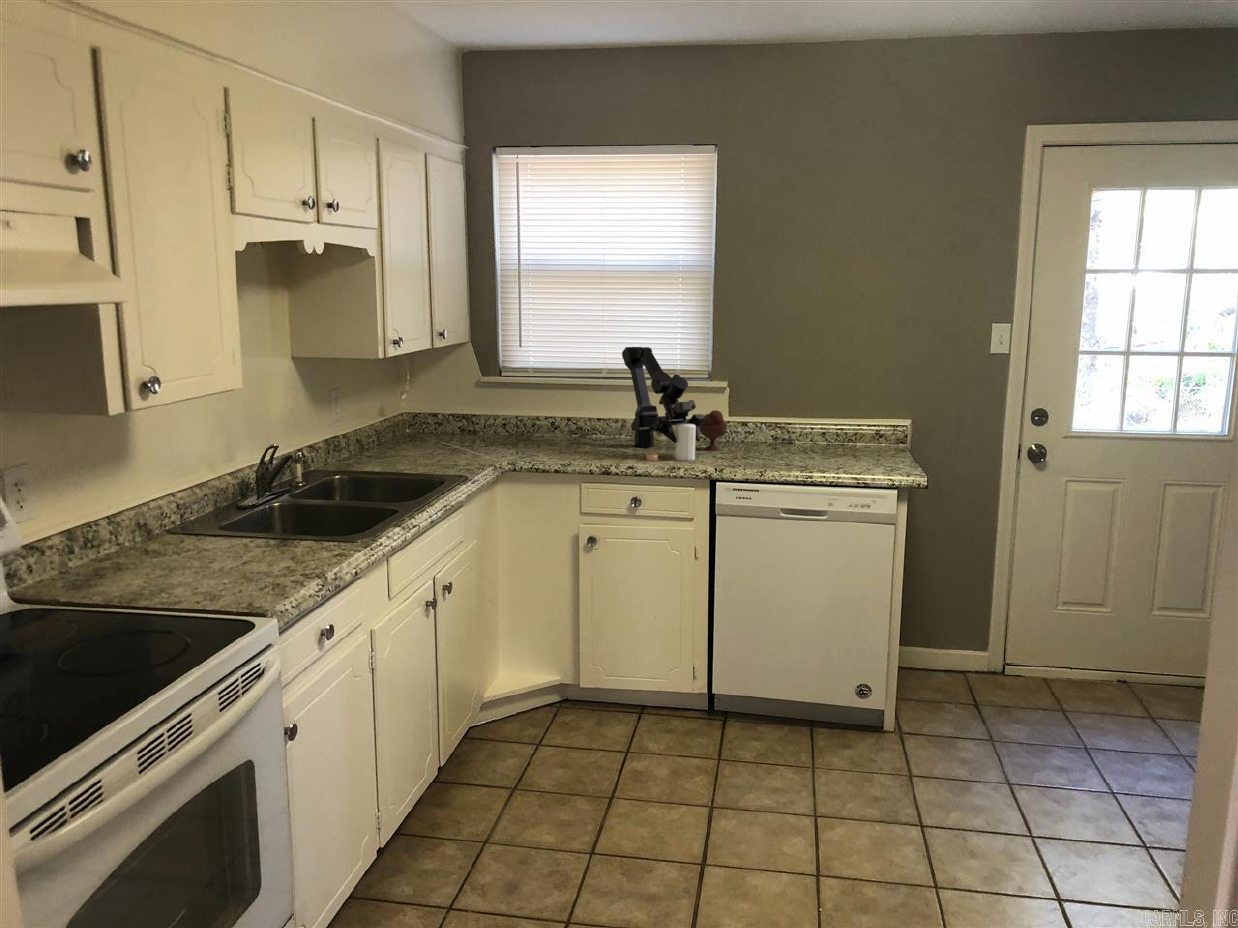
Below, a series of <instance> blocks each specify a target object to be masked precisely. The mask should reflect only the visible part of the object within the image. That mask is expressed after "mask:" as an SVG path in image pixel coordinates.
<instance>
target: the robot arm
mask: <svg viewBox="0 0 1238 928" xmlns="http://www.w3.org/2000/svg"><path fill="white" fill-rule="evenodd" d="M621 357H622V360H623V362H624V365H625V366H626V368H628V370H629V371H630V374H631V379H632V384H633V390H634V394H635V400H636V405H637V407H636V410H635V412H634V419H633V420H632V423H631V425H630V427H631V431H634V444H632V447H635V446H636V447H637V448H643V449H644V448H645V449H648V448H652V447H655V446H656V444H655V434H654V432H656V433H657V432H658V434H662V435H663V436H665V437H666V438H667V439H669V440H670V441H672V442H673V443H674V444H676V443H677V439H676V433H675V432H674V430H673V427H672V426H675V427H676V425H677V424H694V425H695V426H696V436H695V441H696V442H700V438H701V437H700V435H701V432H700V427H701V426H702V424H703V423H704V421H705V420H706V419H705V417H704V415H705V414H703V413H696V414H692V416H691V417H690V418H687V417H688V416H689V413H690V412H692V411H693V410H695V409H696V405H697V404H696V403H695V401H694V399H693V400H692V399H690V400H687V401H679V399H681V398H682V397H683V395H684V394H685V392H686V390H687V389H688V387H689V382H688V380H687V379H685V378H684V377H681V376H680V374H674V375H673V376H672V377H671V376H670V375H669V374H668V373H667V372H664V371H663V369H662V368H661V366H660V364H659V362H658V360H657V359H656V357H655V355H654V353H653V350H652V347H649V346H647V347H646V346H645V347H644V346H643V347H642V346H626V347H625V348H624V349H623V350H622V351H621ZM644 368H645V370H646V371H647V374H649V375H648V376H649V377H650V378H651V381H650V382H651V383H650V386H651V389H652V390H653V392H654V394H656V395H661V396H660V399H659V401H658V404H659V405H663V408H664V410H665V412H664V415H660V416H659V413H658V407H657V405H653V404H652V403H651V400H650V396H649V391H648V386H647V379H646V376H645V371H644Z"/></svg>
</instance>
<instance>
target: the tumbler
mask: <svg viewBox="0 0 1238 928" xmlns="http://www.w3.org/2000/svg"><path fill="white" fill-rule="evenodd" d="M675 427H676V428H675V436H676V439H677V443H675V455H674V456H675V459H677V460H692V461H695V460H694V459H695V457H696V439H695V436H696V426H695V425H694V424H677V425H676V426H675ZM677 460H676V461H677Z"/></svg>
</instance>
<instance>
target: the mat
mask: <svg viewBox="0 0 1238 928" xmlns="http://www.w3.org/2000/svg"><path fill="white" fill-rule="evenodd" d="M675 456H676V455H673V456H669V457H666V458H664V460H670V461H679V462H686V463H689V462H692V461H695V460H698V459H700V457H696V456H695V459H694V460H677V459H675Z"/></svg>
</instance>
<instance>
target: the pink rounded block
mask: <svg viewBox="0 0 1238 928" xmlns="http://www.w3.org/2000/svg"><path fill="white" fill-rule="evenodd" d="M646 461H647V462H658V461H659V453H658V454H657V453H647V454H646Z"/></svg>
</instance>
